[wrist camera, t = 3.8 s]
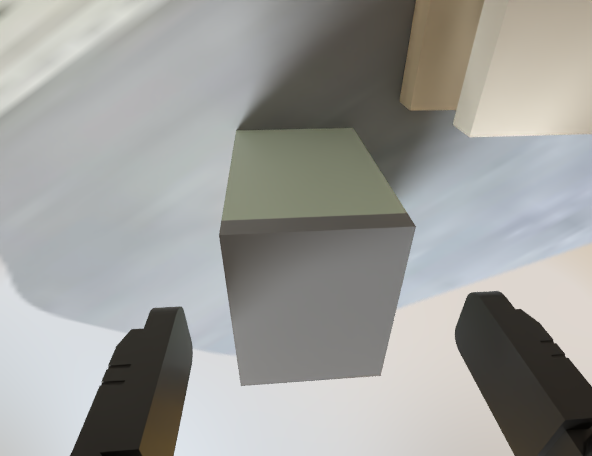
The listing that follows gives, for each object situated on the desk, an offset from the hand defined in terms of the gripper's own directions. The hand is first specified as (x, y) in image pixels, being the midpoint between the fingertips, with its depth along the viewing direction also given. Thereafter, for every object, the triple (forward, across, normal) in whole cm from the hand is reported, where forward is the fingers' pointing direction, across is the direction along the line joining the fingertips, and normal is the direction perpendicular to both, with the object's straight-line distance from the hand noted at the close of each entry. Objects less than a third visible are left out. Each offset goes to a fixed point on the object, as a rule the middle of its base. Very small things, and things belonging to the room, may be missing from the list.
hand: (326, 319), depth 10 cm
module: (+7, 0, 0) cm, 7 cm away
